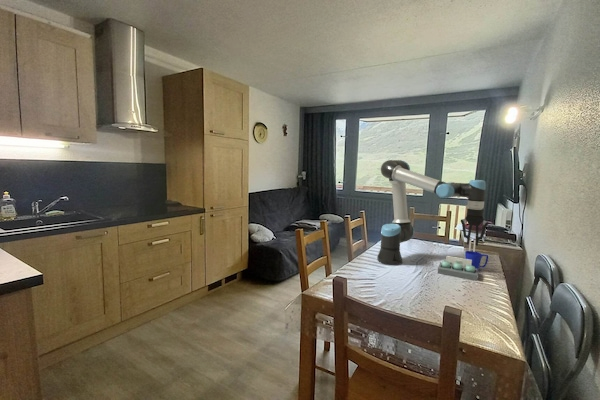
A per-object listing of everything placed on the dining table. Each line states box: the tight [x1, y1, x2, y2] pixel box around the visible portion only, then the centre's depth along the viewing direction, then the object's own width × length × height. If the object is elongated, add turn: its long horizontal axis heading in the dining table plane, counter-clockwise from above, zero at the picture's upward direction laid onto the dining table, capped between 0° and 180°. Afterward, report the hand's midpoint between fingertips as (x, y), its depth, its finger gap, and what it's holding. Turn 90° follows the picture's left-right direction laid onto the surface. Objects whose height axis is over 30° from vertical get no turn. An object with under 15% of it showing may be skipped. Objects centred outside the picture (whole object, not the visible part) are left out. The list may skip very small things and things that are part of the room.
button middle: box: [453, 263, 462, 271], centre depth 157 cm, size 4×4×3 cm
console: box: [437, 261, 479, 282], centre depth 158 cm, size 19×12×3 cm, turn 58°
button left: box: [441, 260, 450, 268], centre depth 160 cm, size 4×4×3 cm
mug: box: [464, 250, 489, 271], centre depth 164 cm, size 8×12×10 cm
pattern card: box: [445, 255, 472, 267], centre depth 164 cm, size 13×1×7 cm, turn 58°
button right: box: [465, 265, 475, 273], centre depth 154 cm, size 4×4×3 cm
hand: (471, 250), depth 153 cm, fingers closed
